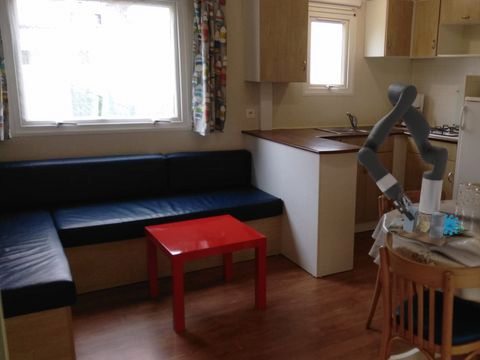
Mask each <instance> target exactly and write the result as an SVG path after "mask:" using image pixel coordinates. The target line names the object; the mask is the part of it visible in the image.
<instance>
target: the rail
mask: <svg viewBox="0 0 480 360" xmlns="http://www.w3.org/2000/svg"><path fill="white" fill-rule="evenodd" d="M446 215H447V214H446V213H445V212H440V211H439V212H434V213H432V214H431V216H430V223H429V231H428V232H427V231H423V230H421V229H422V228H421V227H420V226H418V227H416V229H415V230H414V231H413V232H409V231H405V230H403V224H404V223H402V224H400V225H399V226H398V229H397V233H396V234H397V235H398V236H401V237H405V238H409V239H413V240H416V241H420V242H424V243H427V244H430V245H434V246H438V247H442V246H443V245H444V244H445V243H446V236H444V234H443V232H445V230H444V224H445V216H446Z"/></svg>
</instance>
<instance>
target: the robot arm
mask: <svg viewBox="0 0 480 360" xmlns="http://www.w3.org/2000/svg"><path fill="white" fill-rule="evenodd" d="M417 97H418V89H417V87H416V86H415V85H413V84H410V83H405V82H404V83H402V82H394V83H392V84H390V85H389V87H388V89H387V99H388V100H389V102H390V103H391V105H392V106H393V109H392V110H390V111H389V112H388V113H387V114H386V115H385V116H384V117H382V118H381V119H380V120H379V121H377V122H376V123H375V124H374V126H373V127H372V129H371V131H370V132H369V134H368V136H367V138H366V140H365V142H364V144H363V146H361V148H360V149H359V150H358V152H357V154H356V161H357V162H358V164H360V165H362V166H363V167H364V168H365V169H366V171H367V172H368V174H369V176H370V177H371V179H372V180H373V181H374V182H375V183H376V186H377V187H378V188H379V190H381V192H382V193H383V194H384V196H385V197H386V198H387V199H388V200H393V202H392V205H394V207H395V209H397V210H398V212H399V213H400V215H406V217H407V218H408V219H409V220H410V221H412V220H414V219H415V217H414V216H413V215H412V214H411V212H410V211H409V210H408V208H407V206H414V204H415V203H414V202H413V201H412V200H411V198H410V197H409V196H408V195H407V193H405V192H404V193H403V191H404V188H403V187H402V185H401V184H400V183H399V182H398V181H397V179H396V178H395V177H394V176H393V174H391V173H390V172H389V170H388V169H387V168H386V167H385V165H383V164H382V162H381V160H380V159H379V157H378V156H377V153H378V151H379V150H380V149H381V147H382V145H383V144H384V142H385V141H386V139H387V137H388V135H390V132H391V131H392V130H393V128H394V127H395V126H396V125H397V123H398V122H399V120H402V122H403V123H404V126H406V129H407V131H408V133H409V134H410V136H411V138H412V140H413V141H414V143H415V145H416V148H417V150H418V153H419V155H420V158H421V160H422V161H423V163H425V164H428V165H431V166H433V168H432V169H431V170H425V171H423V173H422V181H421V191H420V198H419V205H418V215H419V214H420V213H422V214H426V215H432V213H434V212H440V204H441V198H442V189H443V181H444V176H445V174H446V169H447V165H448V160H449V151H448V149H447V148H446V147H443V146H436V145H432V144H431V143H430V141H429V137H430V134H431V131H432V130H431V124H430V123H429V122H428V120H427V117H426V116H425V115H424V114H423V113H422V112H421V111H420V110H419V109H418V108H416V107H415V106H414V105H413V104H414V102H415V101H416V99H417ZM414 207H415V206H414Z"/></svg>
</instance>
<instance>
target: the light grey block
mask: <svg viewBox="0 0 480 360" xmlns="http://www.w3.org/2000/svg"><path fill="white" fill-rule="evenodd" d="M407 208H408V210H409V211H410V212H411V214H412V215H413V216H414V217H415V219H414V220H412V221H410V220H409V219H408V218H407V217H406V215H405V214H403V215H404V218H403V223H402V224H403V230H405V231H409V232H413V231H414V230H415V229H416V228H417V226H418V216H419V214H418V213H419V206H407Z"/></svg>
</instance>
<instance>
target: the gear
mask: <svg viewBox="0 0 480 360" xmlns="http://www.w3.org/2000/svg"><path fill="white" fill-rule="evenodd" d="M448 216H449V217H448ZM461 223H462V222H461V221H459V218H458V217H454V214H450V215H448V214H446V216H445V224H444V231H443V233H444V234H446V235H448V232H449V236H453V235H455V234H459V233H458V232H462V231H464V229H465V227H464V226H461ZM453 231H454V232H453ZM444 234H443V235H444Z"/></svg>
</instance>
